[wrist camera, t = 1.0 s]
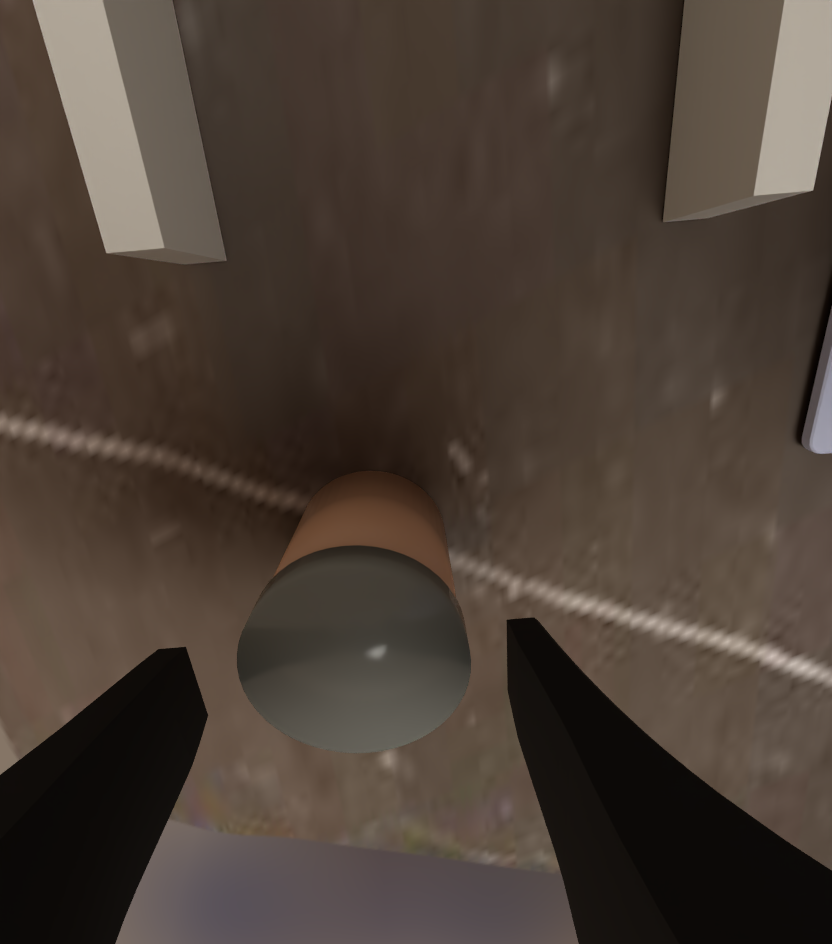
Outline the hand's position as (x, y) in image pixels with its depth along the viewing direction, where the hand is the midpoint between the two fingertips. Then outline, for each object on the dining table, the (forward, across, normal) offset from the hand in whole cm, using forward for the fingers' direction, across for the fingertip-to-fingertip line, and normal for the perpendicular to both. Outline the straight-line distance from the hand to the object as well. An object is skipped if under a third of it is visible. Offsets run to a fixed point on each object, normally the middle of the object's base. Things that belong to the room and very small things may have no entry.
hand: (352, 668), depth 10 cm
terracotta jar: (+6, 0, 0) cm, 6 cm away
